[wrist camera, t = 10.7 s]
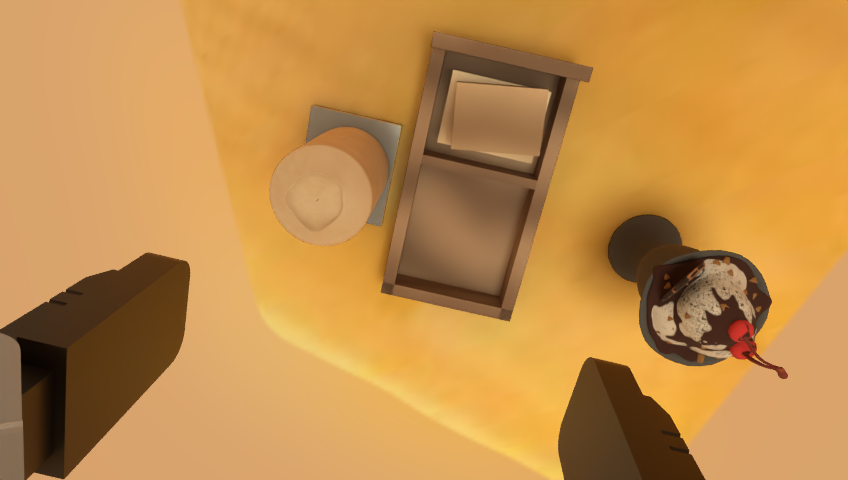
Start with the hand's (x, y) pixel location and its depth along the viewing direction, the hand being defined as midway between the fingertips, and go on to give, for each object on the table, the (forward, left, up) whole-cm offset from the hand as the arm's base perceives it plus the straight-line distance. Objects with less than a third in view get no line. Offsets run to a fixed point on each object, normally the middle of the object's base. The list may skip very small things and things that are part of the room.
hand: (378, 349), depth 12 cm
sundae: (+4, +16, -29) cm, 33 cm away
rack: (+2, +3, -29) cm, 29 cm away
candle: (+3, -5, -28) cm, 29 cm away
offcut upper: (-3, +3, -26) cm, 26 cm away
